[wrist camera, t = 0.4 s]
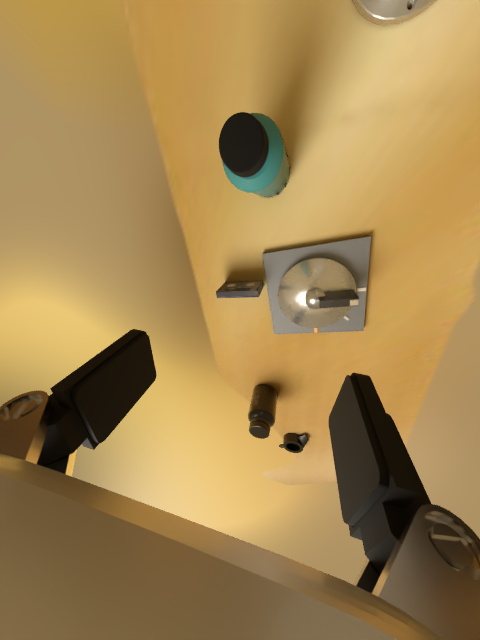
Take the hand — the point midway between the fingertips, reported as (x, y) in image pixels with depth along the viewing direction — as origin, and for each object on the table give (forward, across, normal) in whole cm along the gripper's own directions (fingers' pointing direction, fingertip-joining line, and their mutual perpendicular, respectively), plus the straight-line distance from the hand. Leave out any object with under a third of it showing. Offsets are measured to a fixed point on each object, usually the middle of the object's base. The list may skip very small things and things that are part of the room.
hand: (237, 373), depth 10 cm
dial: (+33, -7, +7) cm, 34 cm away
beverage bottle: (+34, +4, -12) cm, 36 cm away
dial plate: (+34, -8, +7) cm, 35 cm away
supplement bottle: (+34, -1, +39) cm, 52 cm away
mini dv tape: (+34, +7, +8) cm, 36 cm away
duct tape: (+35, -12, +57) cm, 68 cm away
